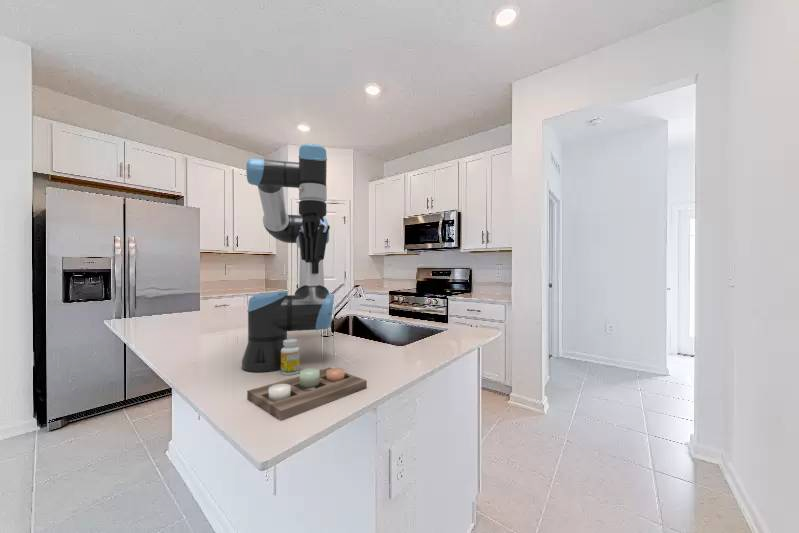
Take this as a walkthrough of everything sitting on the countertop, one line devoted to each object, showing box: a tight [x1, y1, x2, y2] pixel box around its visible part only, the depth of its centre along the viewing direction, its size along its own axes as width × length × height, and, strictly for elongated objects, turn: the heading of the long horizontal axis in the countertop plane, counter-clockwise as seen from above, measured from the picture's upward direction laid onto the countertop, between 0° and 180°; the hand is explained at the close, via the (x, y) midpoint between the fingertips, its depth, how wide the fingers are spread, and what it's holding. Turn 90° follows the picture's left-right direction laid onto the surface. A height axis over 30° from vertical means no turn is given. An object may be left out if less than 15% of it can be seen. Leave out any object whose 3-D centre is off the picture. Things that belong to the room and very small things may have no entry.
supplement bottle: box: [280, 338, 301, 376], centre depth 97 cm, size 5×5×10 cm
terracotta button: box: [326, 367, 346, 383], centre depth 87 cm, size 5×5×3 cm
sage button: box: [299, 367, 321, 388], centre depth 81 cm, size 5×5×3 cm
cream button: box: [269, 384, 291, 402], centre depth 75 cm, size 5×5×3 cm
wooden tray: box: [246, 367, 368, 421], centre depth 81 cm, size 16×24×2 cm, turn 138°
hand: (312, 285), depth 91 cm, fingers closed
